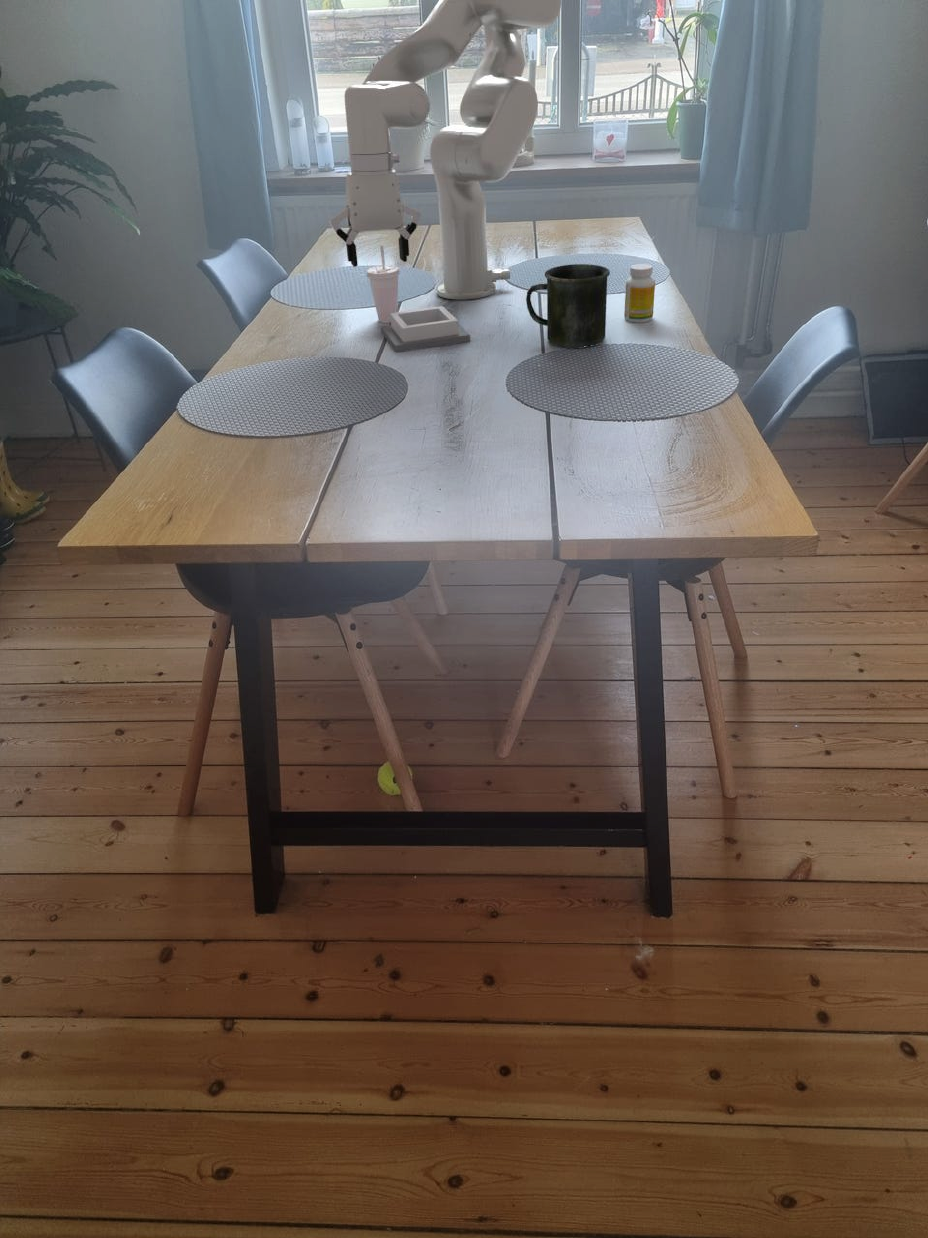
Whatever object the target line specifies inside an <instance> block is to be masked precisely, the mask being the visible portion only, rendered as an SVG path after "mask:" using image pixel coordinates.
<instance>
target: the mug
mask: <svg viewBox="0 0 928 1238" xmlns="http://www.w3.org/2000/svg"><path fill="white" fill-rule="evenodd" d="M610 273H611V271H610V269H608V268H607V267H604V266H602V265H598V264H586V263H583V264H582V263H576V264H575V263H574V264H573V263H572V264H564V265H558V266H554V267H551V268H549V269H547V270H546V271H545V272H544V277H545V278H546V283H537V284H535V285H532V286H530V288H529V289H528V290H527V291H526V298H525V300H526V307H527V308H526V309H527V311H528V313H529V316H530V317H531V318H532V320H533V321H534V322H536V323H537V324H538V325H539V324H540V325H543V326H546V328H547V329H546V330H547V333H546V334H547V335H546V337H547V340H548V342H549V343H550V344H551V345H553V346H556V347H560V348H566V349H580V348H579V347H584V346H591V345H595V346H597V345H596V344H598V345H599V344H602V343H603V342H604V340H605V339H606V330H607V329H606V325H607V324H606V322H607V296H608V294H607V293H608V277H609V276H610V275H611V274H610ZM536 291H546V293H547V294H546V296H547V297H546V298H547V301H546V303H547V304H546V305H547V306H546V308H547V310H546V312H547V313H546V315H547V319H546V318H543V317H541V316H539V315H538V314H537V313H536V311H535V309H534V307H533V305H532V299H531V296H532V294H533V292H536ZM591 347H592V346H591Z"/></svg>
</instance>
